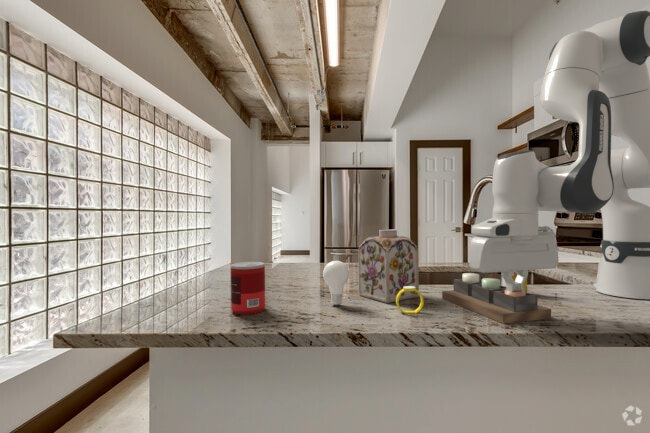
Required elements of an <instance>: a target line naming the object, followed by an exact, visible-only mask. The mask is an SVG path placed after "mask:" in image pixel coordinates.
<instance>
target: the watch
mask: <svg viewBox="0 0 650 433" xmlns="http://www.w3.org/2000/svg"><path fill="white" fill-rule="evenodd" d="M405 291H416V292H417V293H418V294H419V295H418V296H419V297H420V303H419V306H418V307H416V309H414V310H403V309H402V308H401V306H400V304H399V303H400V301H399V297H400V296H401V294H402V293H403V292H405ZM424 303H425V301H424V296H423V294H422V293H421V292H420V290H419V291H418V290H416V287H414V286H404V287H403V289H402V290H400V291H399V293H398V294H397V297H396V302H395V304H396V306H397V308H398V310H399V311H400V312H402V313H403V314H408V315H409V314H418V313H420V311H422V309H423V308H424Z"/></svg>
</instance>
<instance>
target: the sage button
mask: <svg viewBox="0 0 650 433" xmlns="http://www.w3.org/2000/svg"><path fill="white" fill-rule="evenodd" d="M481 280H482V287H483V288H487V289H499V288H500V285H501V279H499V278H492V277H484V278H482V279H481Z"/></svg>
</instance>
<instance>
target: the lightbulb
mask: <svg viewBox="0 0 650 433" xmlns="http://www.w3.org/2000/svg"><path fill="white" fill-rule="evenodd" d="M322 276H323V280H324V281H325V283H326V285H327V286H328V291H329V293H330V303H331V304H332V305H334V306H335V307H337V306H339V305H341V304H343V301H342V300H343V299H342V297H343V291H344V288H345V285H346V284H347V283H348V280H349V278H350V270H349V267H348V266H347V265H346V263H345V262H343V261H340V260H332V261H329V262H328V263H326V264H325V266H324V268H323V271H322Z"/></svg>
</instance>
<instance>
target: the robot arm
mask: <svg viewBox="0 0 650 433" xmlns="http://www.w3.org/2000/svg"><path fill="white" fill-rule="evenodd" d="M548 56H549V57H548V63H547V66H546V69H545V72H544V75H543V80H542V83H541V87H540V92H539V93H540V94H539V102H540V105H541V107H542V108H543V110H544V111H545V112H546V113H547V114H548V115H550V116H552V117H554V118H557V119H559V120H562V121H566V122H572V123H578V125H579V130H578V131H579V132H578V133H579V134H578V136H579V137H578V154H577V159H576V160H575V161H574V162H572V163H571V164H568V165H559V166H550V167H549V165H546V164H544V163H542V162H540V161H539V160H538V159H537V156H536V152H534V151H533V150H530V149H529V150H527V149H526V150H520V151H516V152H515V151H514V152H509V153H504V154H501V155H499V156H498V157H497V158H496V160H495V162H494V165H493V171H492V179H491V180H492V183H491V185H492V186H491V187H492V188H491V189H492V190H491V193H492V197H493V201H494V202H493V208H492V211H491V212H492V214H491V215H492V216H491V218H489V219H487V220H484V221H482V222H479V223H477V224H474V225H472V226H471V234H472V235H473V236H474V237H473V238H472V239H471V241H470V243H469V244H470V246H469V257H468V258H469V266H470V268H471V270H472V271H473V272H477V273H482V274H484V273H485V274H486V273H500V272H501V274H500V275H501V277H502V278H503V280H504V283H505V282H506V290H507V291H509V292H516V291H523V283H524V282H525V280H526V278H527V279H528V276H529V271H532V270H533V271H535V270H549V269H550V270H551V269H556V268H557V267H558V265H559V250H558V242H557V240H556V233H555V231H554V230H553V229H552V228H551V227H550V226H548V225H543V226H540V225H539V212H568V213H569V212H570V213H579V214H589V215H590V214H594V213H596V212H598V211H600V213H601V218H602V220H601V221H602V240H601V243H600V252H601V253H602V256H601V258H600V259H599V261H598V266H597V267H598V268H597V276H596V282H594V283H593V288H595V291H596V292H598V293H602V294H604V295H609V296H615V297H620V298H627V299H638V300H650V206H648V205H646V204H644V203H642V202H639V201H636V200H634V199H632V198H631V197H630V195H629V193H628V191H629V190H630V189H633V190H634V189H650V74H649V70H648V67H647V63H646V61H647V59H648V58H649V57H650V11H648V10H638V11H632V12H629V13H627V14H626V15H623V16H618V17H614V18H611V19H607V20H604V21H601V22H599V23H598V22H597V23H595V24H594V25H593V26H589V27H587V28H584V29H582V30H578V31H573V32H570V33H568V34H566V35H564V36H563V37H562V38H560V40H558V41H557V42H556V43H555V44H554V45H553V47H552V48H551V50H550V52H549V55H548ZM612 136H614V137H617V138H618V137H619V138H620V139H622V140H623V141H624V142H625V143H626V145H627V147H621V148H613V149H612ZM514 271H516V274H518V275H517V277H516V280H515V282H514V281H513V278H512V276H514Z"/></svg>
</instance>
